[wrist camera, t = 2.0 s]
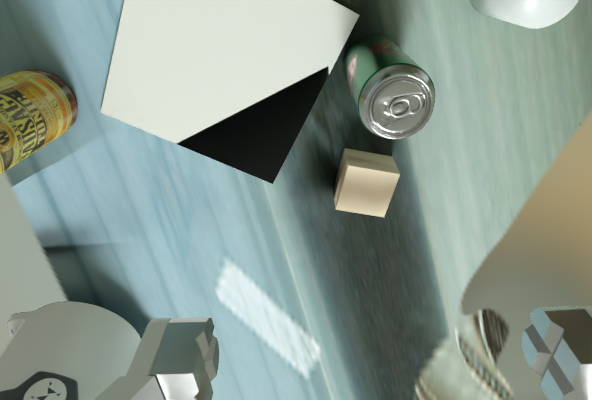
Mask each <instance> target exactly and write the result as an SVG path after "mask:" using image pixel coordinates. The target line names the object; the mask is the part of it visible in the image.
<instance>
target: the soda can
mask: <svg viewBox="0 0 592 400" xmlns="http://www.w3.org/2000/svg"><path fill="white" fill-rule="evenodd" d="M343 72H344V76H345V79H346V81H347V84H348V87H349V90H350V92H351V95H352V98H353V101H354V103H355V106H356V109H357V112H358V114H359V117H360V120H361V121H362V123H363V125H364V126H365V127H366V128H367V129H368V130H369V131H370V132H372V133H373V134H375V135H377V136H380V137H384V138H389V139H402V138H406V137H409V136H411V135H413V134H415V133H416V132H418V131H419V130H420V129H422V128H423V127H424V126H425V124H426V123H427V122H428V120H429V118H430V116H431V114H432V111H433V107H434V103H435V89H434V85H433V82H432V80H431V78H430V77H429V75H428V74H427V73H426V72H425V71H424V70H423V69H422V68H421V67H419V66H418V65H417V64H416V63H415V62H414V61H413V60H412V59H411V58H410V57H409V56H408V55H406V54H405V53H404V52H403V51H402V50H401V49H400V48H399V47H398V46H397V45H396V44H395V43H393V42H392V41H391V40H390V39H388V38H387V37H384V36H381V35H369V36H365V37H363V38H361V39H359V40H357V41H356V42H355V43H354V44H353V45H352V46H351V47H350V48H349V50H348V51H347V53H346V56H345V59H344V63H343Z"/></svg>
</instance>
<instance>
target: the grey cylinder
mask: <svg viewBox="0 0 592 400" xmlns="http://www.w3.org/2000/svg"><path fill="white" fill-rule="evenodd" d="M578 1H579V0H470V2H471V4H472V6H473V7H474V9H475V10H476V11H478V12H479V13H481V14H484V15H487V16H490V17H494V18H497V19H500V20H503V21H507V22H510V23H513V24H517V25H520V26H523V27H527V28H543V27H546V26H549V25H552V24H554V23H556V22H557V21H559V20H560V19H562V18H563V17H564V16H566V15H567V14H568V13H569V12H570V11H571V10H572V9H573V8H574V6H575V5H576V4H577V2H578Z"/></svg>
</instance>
